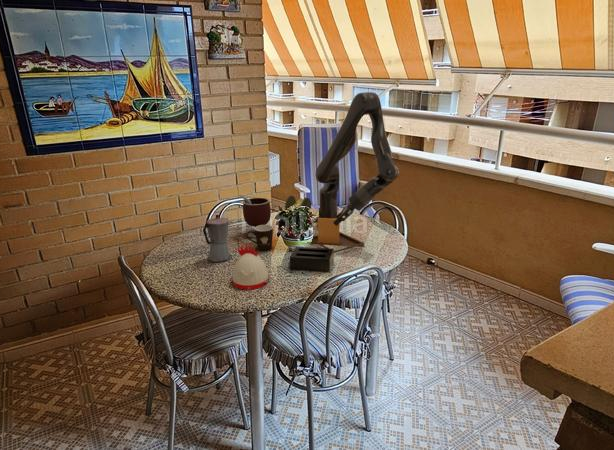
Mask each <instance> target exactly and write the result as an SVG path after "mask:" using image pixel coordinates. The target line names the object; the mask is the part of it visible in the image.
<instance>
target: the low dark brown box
mask: <svg viewBox="0 0 614 450" xmlns="http://www.w3.org/2000/svg"><path fill="white" fill-rule="evenodd" d="M328 248H329V247H328ZM328 248H324V247H311V246H310V247H307V246H295V247H294V249H293V250H292V251H291V252H290V256H289V270H290V271H299V272H304V271H305V272H316V273H331V269H332V267H333V264H334V262H335V261H334V257H335V255H334V254H335V253H334V251H335V250H334V248H330V249H328Z"/></svg>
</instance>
